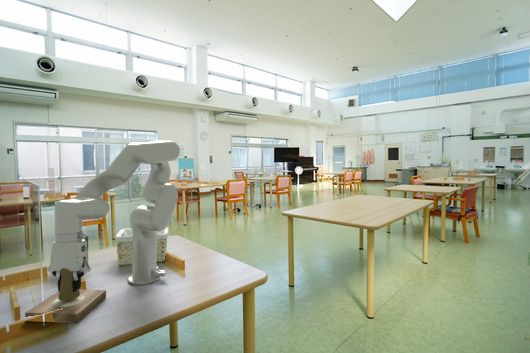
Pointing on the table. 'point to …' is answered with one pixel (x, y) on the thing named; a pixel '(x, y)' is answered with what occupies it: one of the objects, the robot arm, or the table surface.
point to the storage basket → (126, 241)
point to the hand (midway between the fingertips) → (69, 289)
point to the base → (69, 306)
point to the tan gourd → (67, 286)
